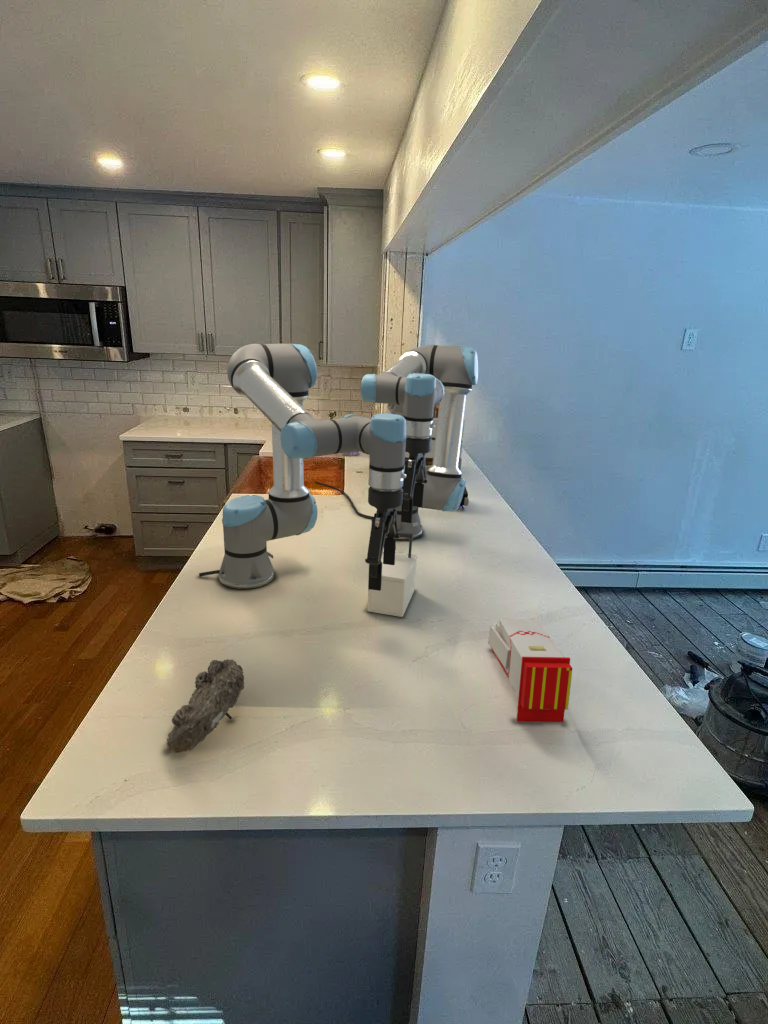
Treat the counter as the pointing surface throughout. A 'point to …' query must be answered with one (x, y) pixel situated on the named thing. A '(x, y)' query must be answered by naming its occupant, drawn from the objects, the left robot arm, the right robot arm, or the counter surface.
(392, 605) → the chest
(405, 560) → the lid
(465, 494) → the figurine character
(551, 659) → the toy
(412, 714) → the counter surface
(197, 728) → the fossil
